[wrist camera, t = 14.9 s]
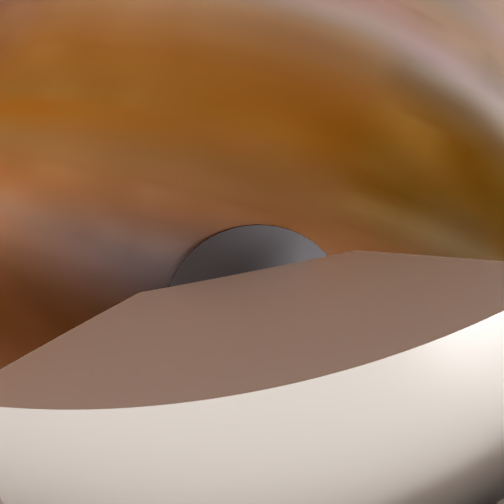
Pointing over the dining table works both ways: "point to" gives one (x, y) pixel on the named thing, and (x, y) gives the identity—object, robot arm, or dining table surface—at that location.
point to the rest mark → (244, 253)
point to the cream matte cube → (271, 391)
